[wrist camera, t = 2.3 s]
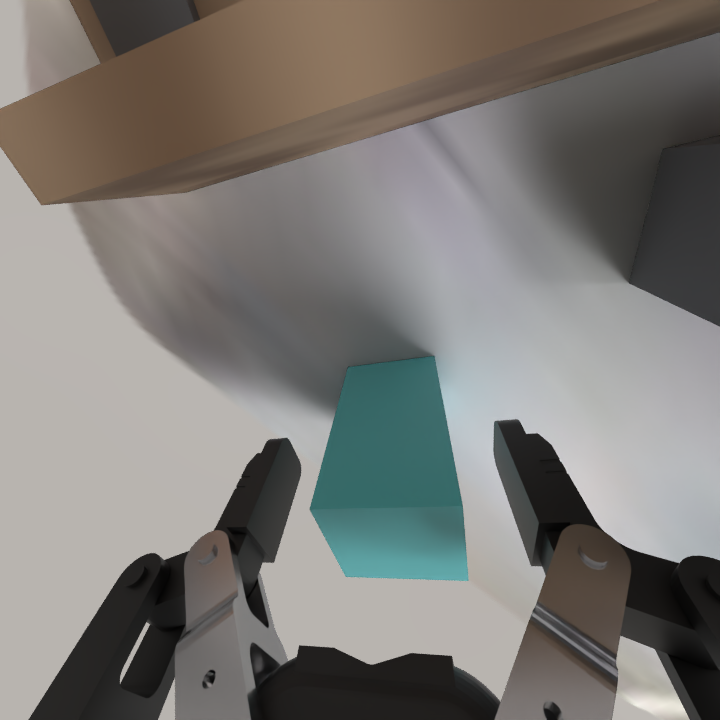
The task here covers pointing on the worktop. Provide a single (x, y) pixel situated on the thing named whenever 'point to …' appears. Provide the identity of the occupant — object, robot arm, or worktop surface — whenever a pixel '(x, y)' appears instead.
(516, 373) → the worktop surface
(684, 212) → the charcoal plug
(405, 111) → the wooden bookshelf
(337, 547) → the teal plug
